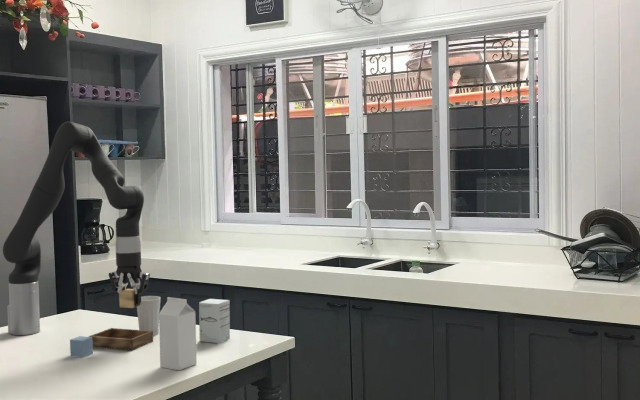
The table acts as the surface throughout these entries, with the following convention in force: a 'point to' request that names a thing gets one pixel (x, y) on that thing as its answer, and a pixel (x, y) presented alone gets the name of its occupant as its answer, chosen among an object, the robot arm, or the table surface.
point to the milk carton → (177, 334)
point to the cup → (149, 314)
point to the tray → (122, 339)
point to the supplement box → (214, 320)
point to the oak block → (126, 298)
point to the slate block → (81, 346)
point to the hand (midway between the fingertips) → (130, 304)
